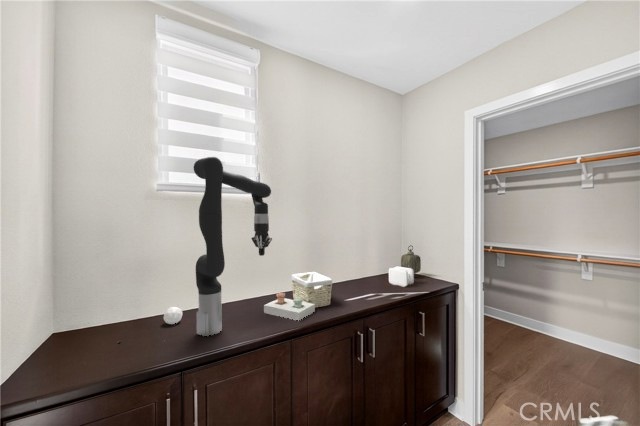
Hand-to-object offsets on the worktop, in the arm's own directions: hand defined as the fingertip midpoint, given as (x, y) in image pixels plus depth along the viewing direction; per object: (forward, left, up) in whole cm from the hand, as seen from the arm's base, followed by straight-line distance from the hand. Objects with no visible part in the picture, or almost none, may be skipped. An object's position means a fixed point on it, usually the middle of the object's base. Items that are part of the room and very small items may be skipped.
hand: (261, 255), depth 141 cm
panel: (+5, -14, -29) cm, 33 cm away
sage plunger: (+5, -20, -29) cm, 35 cm away
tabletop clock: (+111, -52, -29) cm, 126 cm away
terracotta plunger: (+5, -8, -27) cm, 29 cm away
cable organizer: (+87, -50, -29) cm, 105 cm away
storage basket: (+25, -15, -29) cm, 41 cm away
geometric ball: (-33, +25, -29) cm, 51 cm away
